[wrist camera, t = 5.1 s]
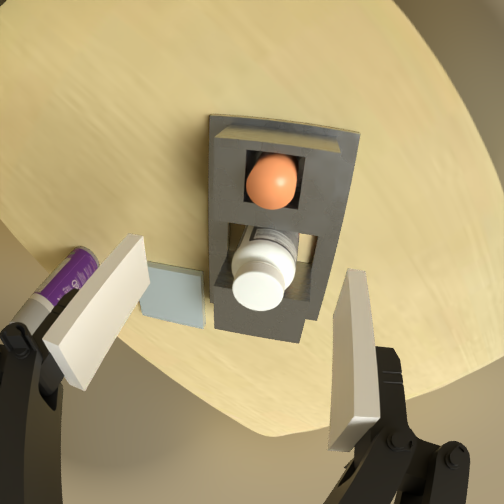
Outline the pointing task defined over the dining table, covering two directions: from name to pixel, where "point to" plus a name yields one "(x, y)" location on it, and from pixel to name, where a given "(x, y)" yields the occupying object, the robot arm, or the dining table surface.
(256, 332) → the housing
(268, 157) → the orange oval piece
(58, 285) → the container
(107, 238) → the dining table surface
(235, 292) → the pill bottle
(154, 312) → the pad
